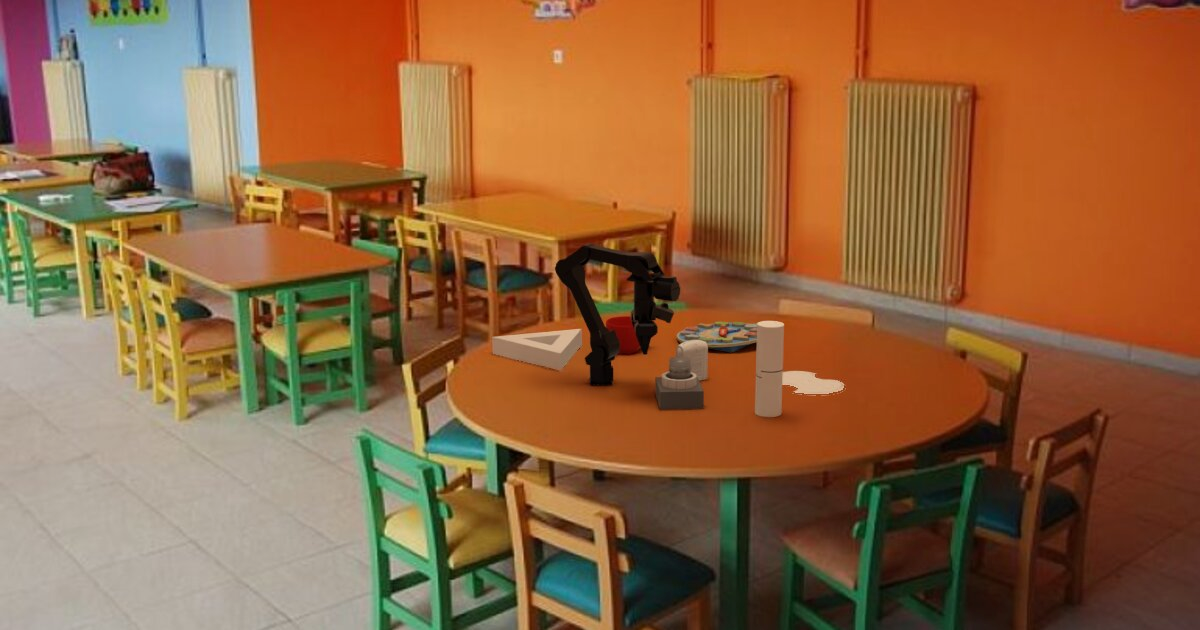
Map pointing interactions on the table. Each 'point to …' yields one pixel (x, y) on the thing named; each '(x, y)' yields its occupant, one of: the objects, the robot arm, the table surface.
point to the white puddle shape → (810, 383)
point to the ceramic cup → (624, 333)
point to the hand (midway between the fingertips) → (643, 350)
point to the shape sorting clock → (721, 335)
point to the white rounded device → (695, 356)
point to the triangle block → (540, 347)
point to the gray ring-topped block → (679, 392)
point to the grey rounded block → (679, 368)
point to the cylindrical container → (769, 368)
